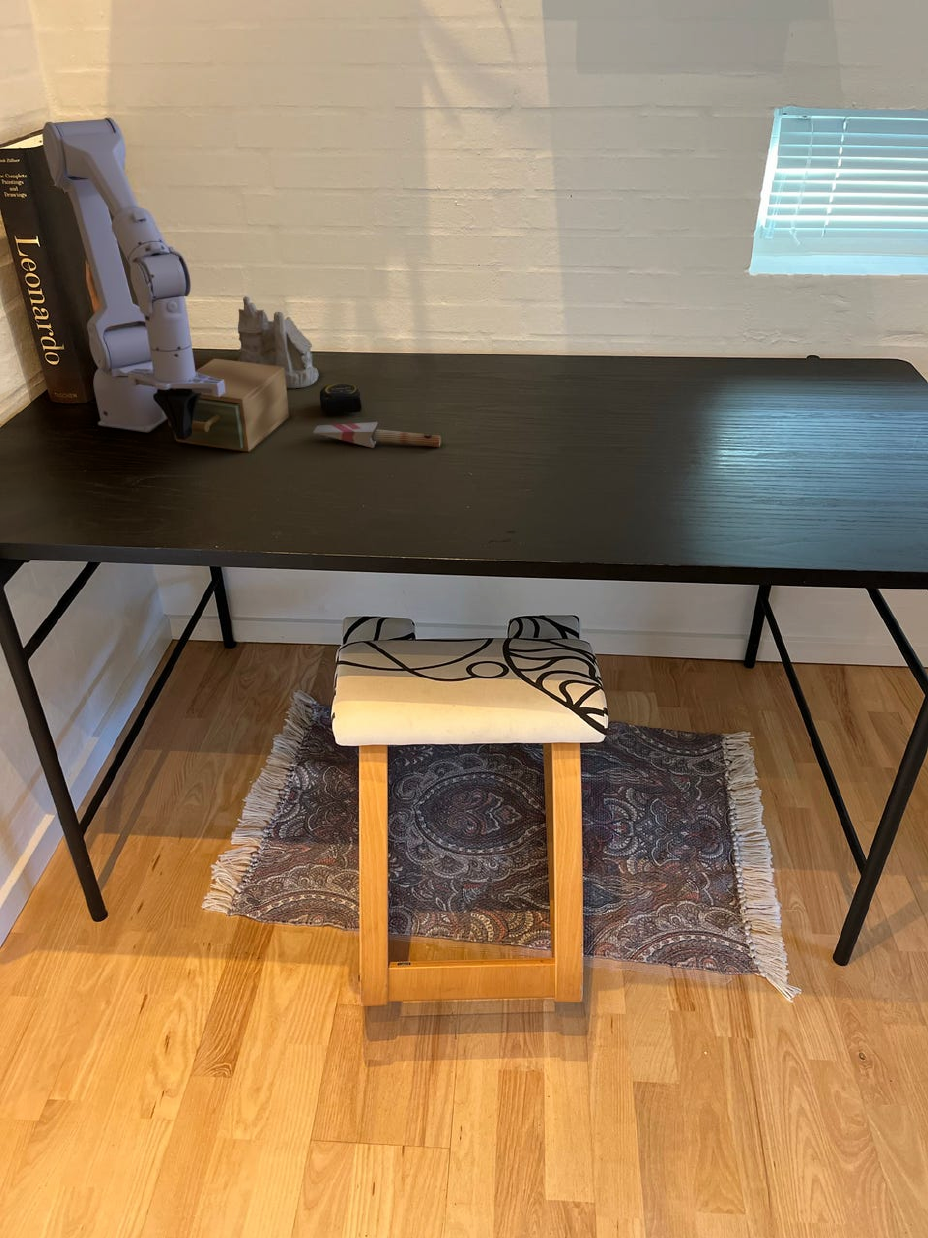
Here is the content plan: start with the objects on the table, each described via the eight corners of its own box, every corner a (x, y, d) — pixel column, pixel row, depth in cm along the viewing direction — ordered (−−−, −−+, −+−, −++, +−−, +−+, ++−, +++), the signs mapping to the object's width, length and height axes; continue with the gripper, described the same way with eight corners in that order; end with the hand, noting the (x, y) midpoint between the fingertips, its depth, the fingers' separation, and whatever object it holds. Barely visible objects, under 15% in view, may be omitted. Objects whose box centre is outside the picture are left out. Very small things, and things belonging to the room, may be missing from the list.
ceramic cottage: (300, 391, 167) (292, 303, 159) (220, 382, 172) (209, 296, 165) (341, 368, 180) (335, 286, 172) (265, 360, 185) (257, 279, 177)
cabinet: (248, 452, 147) (242, 399, 142) (176, 441, 150) (167, 389, 145) (289, 416, 158) (284, 366, 154) (221, 407, 161) (214, 358, 156)
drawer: (225, 462, 142) (219, 419, 138) (158, 452, 144) (150, 409, 140) (279, 416, 156) (275, 376, 152) (217, 408, 159) (211, 368, 155)
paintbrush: (317, 415, 151) (442, 428, 150) (318, 431, 153) (441, 444, 151) (311, 424, 148) (438, 438, 146) (312, 441, 149) (437, 454, 148)
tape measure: (320, 419, 158) (319, 397, 156) (320, 403, 163) (319, 382, 161) (362, 417, 159) (361, 396, 156) (360, 402, 164) (359, 381, 162)
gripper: (108, 347, 131) (125, 440, 139) (201, 359, 128) (214, 453, 135) (137, 333, 137) (152, 423, 144) (227, 344, 133) (238, 435, 141)
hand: (184, 436), depth 140 cm, fingers closed, pressing on drawer
